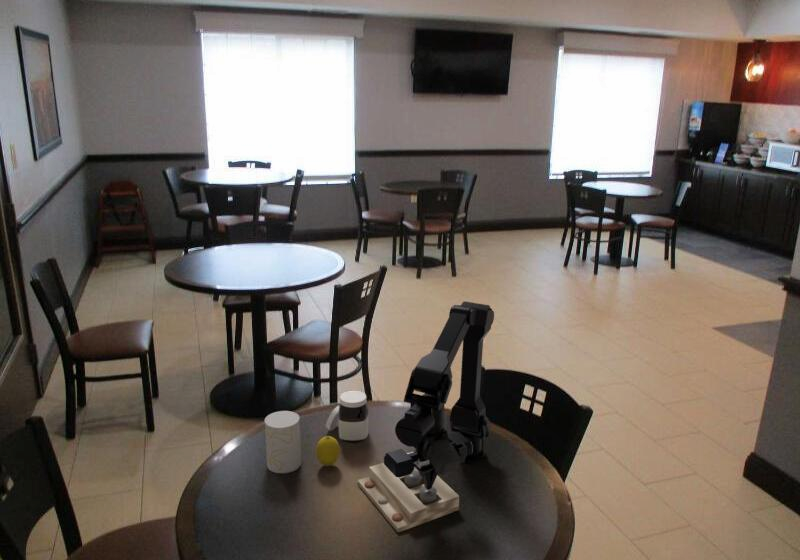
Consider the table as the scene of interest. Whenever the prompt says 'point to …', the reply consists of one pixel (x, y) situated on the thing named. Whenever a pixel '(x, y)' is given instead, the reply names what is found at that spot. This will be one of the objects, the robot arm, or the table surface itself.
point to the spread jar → (350, 417)
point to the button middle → (413, 479)
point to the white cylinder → (283, 441)
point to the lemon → (328, 450)
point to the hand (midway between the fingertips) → (428, 488)
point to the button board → (406, 498)
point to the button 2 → (428, 495)
